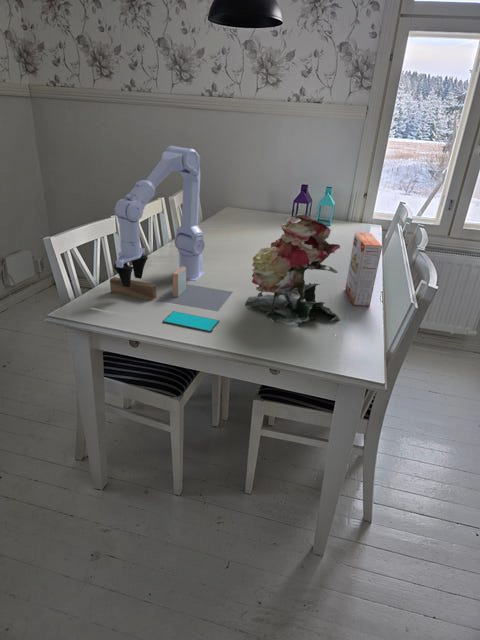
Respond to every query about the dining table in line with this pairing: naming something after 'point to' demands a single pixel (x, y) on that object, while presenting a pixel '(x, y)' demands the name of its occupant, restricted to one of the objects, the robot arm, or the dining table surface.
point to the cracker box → (363, 268)
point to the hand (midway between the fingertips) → (132, 282)
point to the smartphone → (191, 321)
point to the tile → (179, 281)
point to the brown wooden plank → (133, 289)
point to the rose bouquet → (291, 271)
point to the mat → (198, 297)
